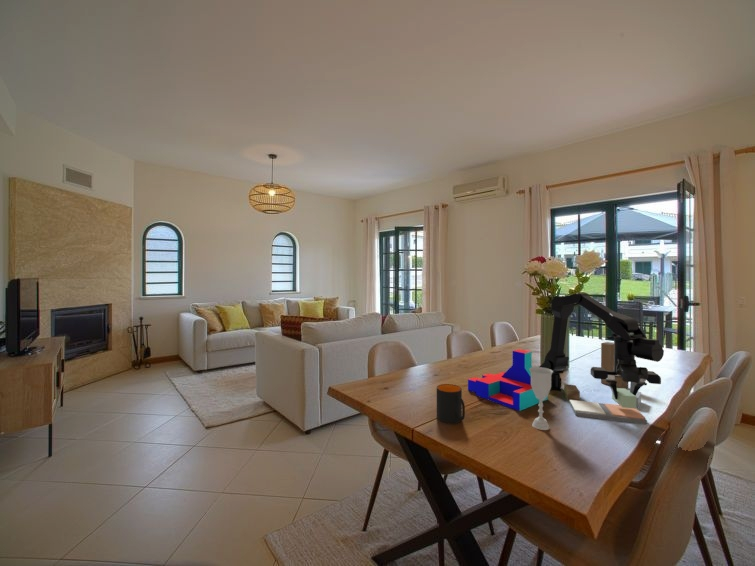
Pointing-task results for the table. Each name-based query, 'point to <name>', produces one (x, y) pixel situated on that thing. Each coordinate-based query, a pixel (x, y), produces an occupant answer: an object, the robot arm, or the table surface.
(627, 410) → the tile board
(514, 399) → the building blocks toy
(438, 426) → the table surface
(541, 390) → the chalice
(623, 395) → the sage brick
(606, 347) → the wooden block
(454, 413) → the mug
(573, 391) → the walnut brick
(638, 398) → the slate brick
